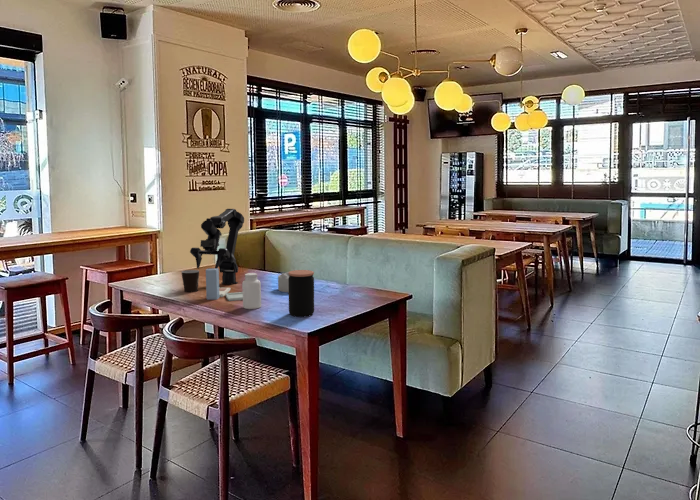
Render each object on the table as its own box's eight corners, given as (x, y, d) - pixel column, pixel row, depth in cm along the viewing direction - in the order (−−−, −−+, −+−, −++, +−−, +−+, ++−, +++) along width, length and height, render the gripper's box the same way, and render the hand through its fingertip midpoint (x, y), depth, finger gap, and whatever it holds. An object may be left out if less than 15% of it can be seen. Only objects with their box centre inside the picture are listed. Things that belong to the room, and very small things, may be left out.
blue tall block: (209, 297, 266) (208, 268, 264) (219, 297, 266) (218, 268, 264) (206, 299, 261) (205, 270, 259) (217, 299, 261) (216, 270, 259)
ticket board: (214, 289, 283) (214, 287, 283) (230, 289, 283) (230, 287, 282) (206, 296, 266) (206, 294, 266) (223, 296, 266) (222, 294, 266)
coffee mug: (195, 293, 274) (194, 273, 273) (178, 292, 276) (178, 272, 275) (205, 288, 286) (204, 269, 284) (190, 287, 287) (189, 268, 286)
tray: (225, 295, 269) (225, 293, 269) (249, 294, 273) (249, 291, 273) (228, 300, 258) (228, 298, 258) (253, 299, 262) (253, 296, 262)
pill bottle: (243, 305, 250) (243, 272, 248) (261, 305, 251) (261, 272, 249) (241, 309, 242) (241, 275, 240) (260, 309, 243) (259, 275, 241)
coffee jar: (299, 309, 242) (299, 269, 240) (319, 313, 236) (319, 271, 234) (283, 314, 234) (282, 272, 231) (303, 318, 228) (302, 275, 225)
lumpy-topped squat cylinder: (291, 293, 274) (291, 276, 273) (273, 290, 282) (272, 273, 281) (306, 290, 283) (305, 273, 281) (287, 286, 290) (287, 270, 289)
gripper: (189, 232, 270) (181, 261, 264) (225, 232, 267) (218, 262, 261) (197, 242, 280) (191, 270, 274) (233, 243, 277) (227, 271, 271)
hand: (206, 268), depth 269 cm, fingers open, 9 cm apart
